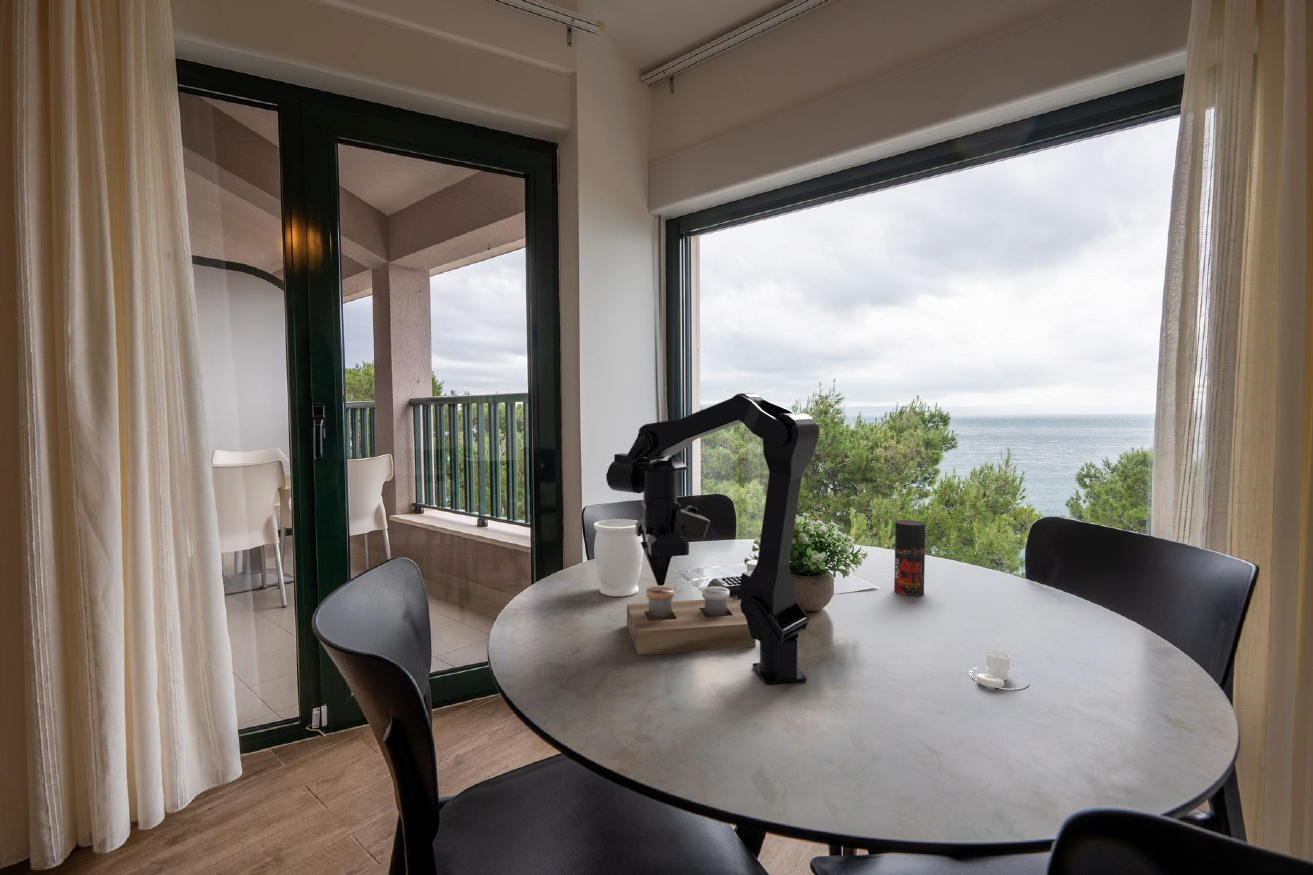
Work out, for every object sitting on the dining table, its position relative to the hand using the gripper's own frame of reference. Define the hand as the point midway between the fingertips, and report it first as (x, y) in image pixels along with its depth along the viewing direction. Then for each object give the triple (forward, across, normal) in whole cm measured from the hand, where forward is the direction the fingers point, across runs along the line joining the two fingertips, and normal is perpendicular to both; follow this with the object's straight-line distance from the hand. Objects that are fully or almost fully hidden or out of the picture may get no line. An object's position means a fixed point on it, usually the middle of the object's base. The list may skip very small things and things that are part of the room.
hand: (660, 584), depth 112 cm
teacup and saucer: (+10, -24, -44) cm, 51 cm away
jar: (+10, +28, +4) cm, 30 cm away
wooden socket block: (+9, 0, -5) cm, 11 cm away
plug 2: (+6, 0, -10) cm, 11 cm away
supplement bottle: (+10, +10, -21) cm, 25 cm away
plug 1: (+5, 0, 0) cm, 5 cm away
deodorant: (+10, +16, -57) cm, 60 cm away
